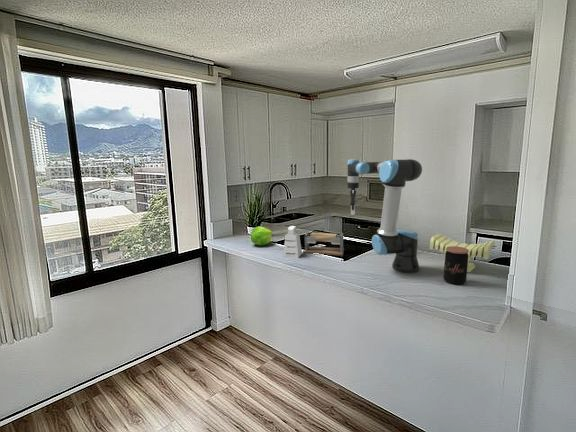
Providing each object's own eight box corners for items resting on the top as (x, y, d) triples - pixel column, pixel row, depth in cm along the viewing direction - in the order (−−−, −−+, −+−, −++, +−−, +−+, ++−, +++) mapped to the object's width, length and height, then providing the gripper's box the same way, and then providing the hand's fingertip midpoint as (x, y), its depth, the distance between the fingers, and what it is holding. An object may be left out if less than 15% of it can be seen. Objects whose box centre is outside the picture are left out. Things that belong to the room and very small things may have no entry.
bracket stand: (342, 255, 218) (342, 236, 216) (303, 253, 225) (303, 235, 222) (343, 249, 231) (344, 232, 228) (306, 248, 237) (306, 230, 235)
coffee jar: (440, 281, 171) (442, 249, 168) (447, 276, 178) (450, 244, 175) (461, 287, 163) (464, 253, 160) (468, 281, 171) (471, 248, 167)
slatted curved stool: (428, 265, 195) (430, 237, 192) (437, 259, 207) (439, 232, 203) (485, 277, 175) (488, 246, 172) (491, 269, 186) (494, 240, 183)
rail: (335, 242, 222) (335, 235, 221) (310, 240, 228) (310, 233, 227) (336, 240, 225) (337, 233, 224) (312, 239, 231) (312, 232, 230)
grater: (283, 257, 218) (282, 228, 214) (287, 252, 228) (287, 225, 224) (298, 258, 215) (297, 229, 211) (302, 253, 225) (301, 225, 221)
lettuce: (277, 243, 254) (278, 227, 247) (258, 252, 240) (259, 236, 234) (264, 235, 262) (265, 221, 256) (245, 244, 249) (245, 229, 243)
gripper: (358, 183, 207) (358, 216, 210) (358, 180, 231) (358, 210, 234) (347, 183, 208) (346, 216, 212) (347, 181, 232) (347, 210, 236)
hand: (352, 213), depth 223 cm, fingers open, 13 cm apart
